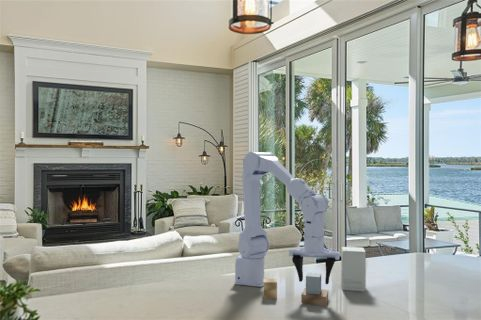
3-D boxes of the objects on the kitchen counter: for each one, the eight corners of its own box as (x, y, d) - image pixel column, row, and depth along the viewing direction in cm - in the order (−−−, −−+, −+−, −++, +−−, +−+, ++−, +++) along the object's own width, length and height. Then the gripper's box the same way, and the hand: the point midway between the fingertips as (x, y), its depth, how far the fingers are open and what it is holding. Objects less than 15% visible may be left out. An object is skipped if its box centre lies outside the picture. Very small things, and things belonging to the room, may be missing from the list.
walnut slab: (301, 305, 122) (301, 294, 122) (304, 297, 128) (304, 287, 128) (326, 307, 120) (326, 297, 120) (328, 300, 126) (328, 289, 126)
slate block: (305, 293, 123) (305, 275, 123) (307, 289, 127) (307, 272, 127) (319, 294, 122) (319, 277, 122) (321, 290, 126) (321, 273, 126)
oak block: (263, 298, 126) (263, 282, 126) (263, 294, 130) (263, 278, 130) (277, 299, 126) (277, 282, 126) (276, 294, 130) (276, 278, 130)
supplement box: (365, 291, 133) (366, 251, 133) (341, 290, 134) (341, 250, 134) (363, 285, 140) (364, 247, 140) (340, 283, 142) (341, 246, 142)
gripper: (286, 236, 123) (286, 283, 123) (337, 239, 118) (337, 288, 118) (292, 232, 130) (291, 277, 130) (340, 235, 125) (340, 281, 125)
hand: (313, 282), depth 124 cm, fingers open, 7 cm apart
